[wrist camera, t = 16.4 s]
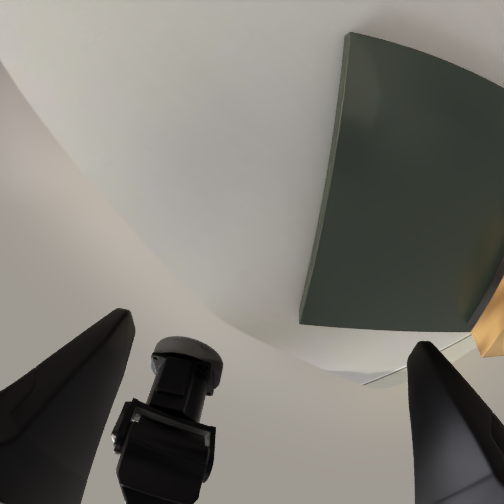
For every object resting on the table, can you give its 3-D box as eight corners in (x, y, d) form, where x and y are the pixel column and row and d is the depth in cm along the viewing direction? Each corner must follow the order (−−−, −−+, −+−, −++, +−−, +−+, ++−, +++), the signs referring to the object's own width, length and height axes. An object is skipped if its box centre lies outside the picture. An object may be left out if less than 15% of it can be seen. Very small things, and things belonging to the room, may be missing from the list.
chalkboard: (487, 321, 23) (492, 331, 22) (299, 310, 24) (299, 324, 23) (564, 131, 12) (575, 136, 11) (344, 35, 13) (349, 31, 12)
